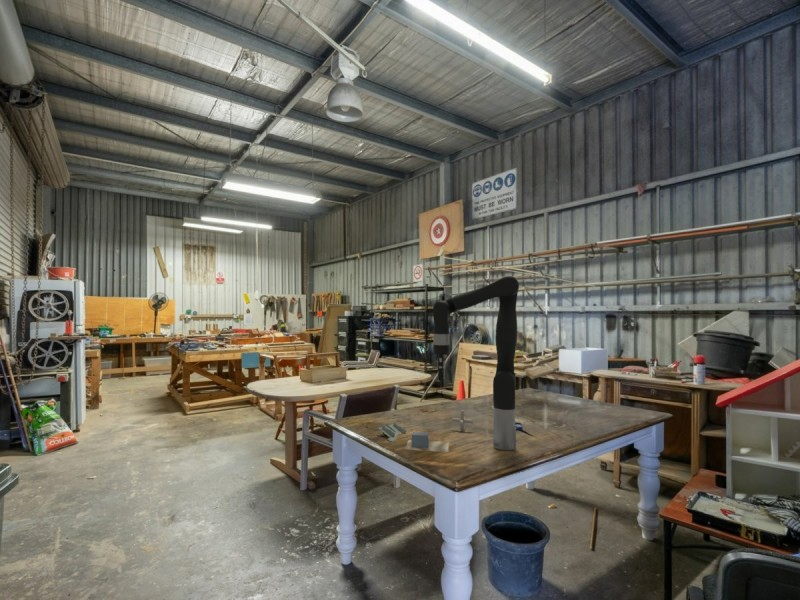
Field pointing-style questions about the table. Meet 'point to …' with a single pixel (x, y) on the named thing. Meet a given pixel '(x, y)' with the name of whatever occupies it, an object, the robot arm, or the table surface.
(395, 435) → the metal bracket
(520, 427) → the bar clamp
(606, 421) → the table surface
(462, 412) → the grey cross-shaped piece
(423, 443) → the block
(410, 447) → the board
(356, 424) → the table surface
